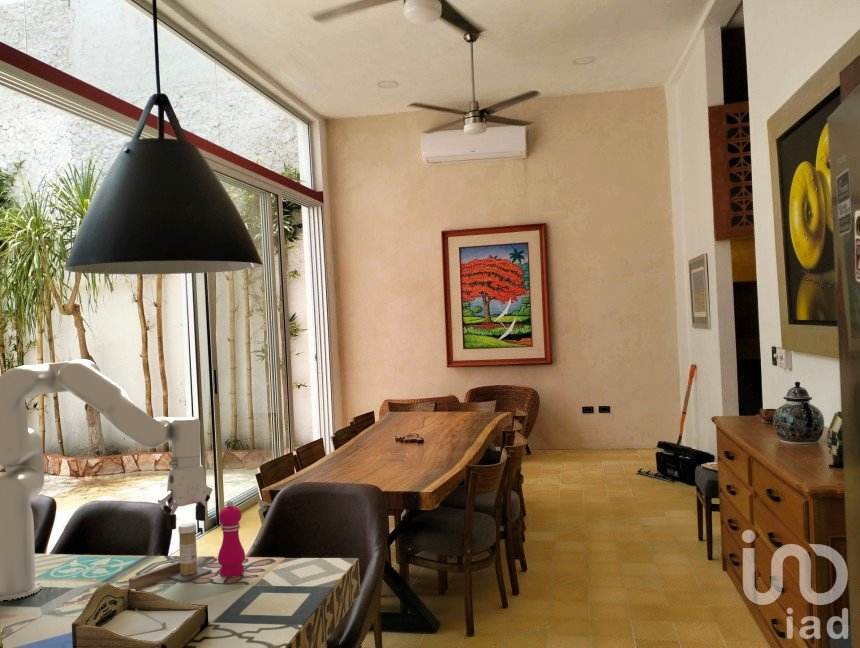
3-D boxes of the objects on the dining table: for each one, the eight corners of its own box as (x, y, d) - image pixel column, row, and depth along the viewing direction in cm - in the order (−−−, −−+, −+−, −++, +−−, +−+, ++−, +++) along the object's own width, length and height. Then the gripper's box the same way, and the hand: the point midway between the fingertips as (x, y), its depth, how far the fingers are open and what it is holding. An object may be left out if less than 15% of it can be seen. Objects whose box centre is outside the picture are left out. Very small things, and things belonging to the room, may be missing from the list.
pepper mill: (229, 579, 184) (226, 505, 184) (212, 575, 188) (210, 502, 189) (251, 572, 190) (248, 499, 190) (234, 567, 194) (232, 496, 194)
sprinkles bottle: (190, 569, 192) (189, 521, 192) (200, 572, 190) (199, 523, 190) (176, 574, 188) (174, 525, 189) (186, 577, 186) (184, 527, 186)
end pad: (167, 578, 187) (167, 576, 187) (194, 568, 195) (194, 566, 195) (184, 582, 183) (184, 580, 183) (211, 571, 191) (211, 569, 191)
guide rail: (129, 590, 179) (128, 578, 179) (183, 569, 194) (182, 559, 194) (133, 591, 178) (132, 579, 178) (186, 570, 193) (186, 560, 193)
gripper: (168, 468, 180) (168, 534, 180) (219, 458, 195) (220, 519, 195) (150, 466, 184) (150, 530, 184) (202, 456, 199) (202, 515, 199)
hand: (186, 524), depth 189 cm, fingers open, 9 cm apart
